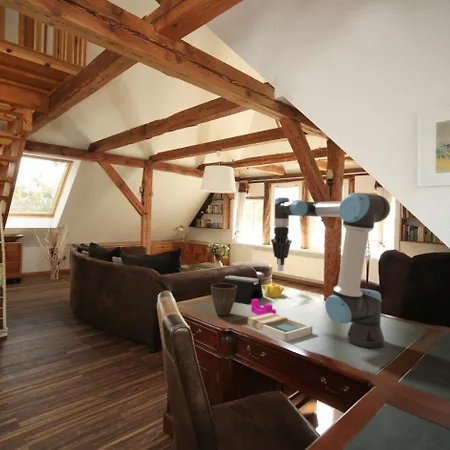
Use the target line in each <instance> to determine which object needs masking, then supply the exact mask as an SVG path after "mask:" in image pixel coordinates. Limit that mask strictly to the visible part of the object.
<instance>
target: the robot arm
mask: <svg viewBox="0 0 450 450" xmlns="http://www.w3.org/2000/svg"><path fill="white" fill-rule="evenodd" d="M273 206H274V222H273V223H274V229H273V231H274V232H273V234H274V238H271V239H270V242H271V245H272V249H273V256H274V258H276V263H277V272H284V266H285V259H287V258H288V256H289V253H290V247H291V244H292V240H290V239H289V237H288V235H289V225H290V224H289V219H290V218H289V217H291V216H293V217H294V216H298V217H299V216H300V217H331V218H332V217H335V218H341V219H342V220H343V221H342V225H343V227H344V228H345V233H344V240H343V241H344V242H343V247H342V255H341V261H340V262H341V263H340V266H339V267H340V268H339V275H338V280H337V285H335V286H333V289H332V294H331V295H329V296H328V297H327V298H326V300H325V303H324V306H325V311H326V313H327V315H328V318H330V320H331V321H332V322H334V323H336V324H343V325H344V324H349V323H350V326H349V329H348V332H347V335H346V336H347V341H348V342H349V343H351V344H352V345H353V344H354V345H355V346H358V347H363V348H369V349H370V348H371V349H372V348H373V349H376V348H377V349H378V348H383V347H384V346H385V341H386V340H385V336H384V333H383V331H382V330H383V329H382V328H381V327H382V326H381V322H382V321H381V317H382V314H381V312H382V302H383V301H382V294H381V293H380V292H379V291H377V290H372V289H368V288H361V284H362V283H361V282H362V276H363V270H364V263H365V257H366V250H367V244H368V238H369V233H370V232H371V231H373V230H374V227H375V223H380V222H383V221H385V219H387V217H388V216H390V215H389V214H390V212H391V205H390V202H389V201H388V199H387V198H386V197H384V196H383V195H380V194H373V193H366V192H365V193H364V192H351V193H350V194H348V195H346V196H345V197H343V198H342V199H341V200H340V201H338V200H337V201H336V200H335V201H307V200H306V201H304V200H302V199H301V200H298V199H296V200H290V198H288V197H276V198H275V199H274V205H273Z"/></svg>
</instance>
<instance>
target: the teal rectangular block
mask: <svg viewBox="0 0 450 450" xmlns="http://www.w3.org/2000/svg"><path fill="white" fill-rule="evenodd" d="M276 329H278V330H280V331H283V332H289V331H293V330H296V329H297V328H296V327H293V326H290V325H287V324H284V325H280V326H276Z"/></svg>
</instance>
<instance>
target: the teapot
mask: <svg viewBox="0 0 450 450" xmlns="http://www.w3.org/2000/svg"><path fill="white" fill-rule="evenodd" d="M262 290H264V297H265V298H271V299H272V298H273V299H277V297H278V298H280V297H282V293H283V292H284V291H285V287H282V286H281V285H280V284H276V283H275V282H271V283H270V284H262Z"/></svg>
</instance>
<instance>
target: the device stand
mask: <svg viewBox="0 0 450 450" xmlns="http://www.w3.org/2000/svg"><path fill="white" fill-rule="evenodd" d="M261 282H262V281H261V279H259V278H253V277H244V276H237V275H228V276H227V275H226V276H224V278H223V279H222V281H221V283H226V284H234V285H236V286H237V291H236V296H235V300H234V303H237V304H240V305H241V304H242V305H247V306H248V305H250V304H251V303H252V299H258V300H260V299H263V298H264V293H263V286H262V283H261Z"/></svg>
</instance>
